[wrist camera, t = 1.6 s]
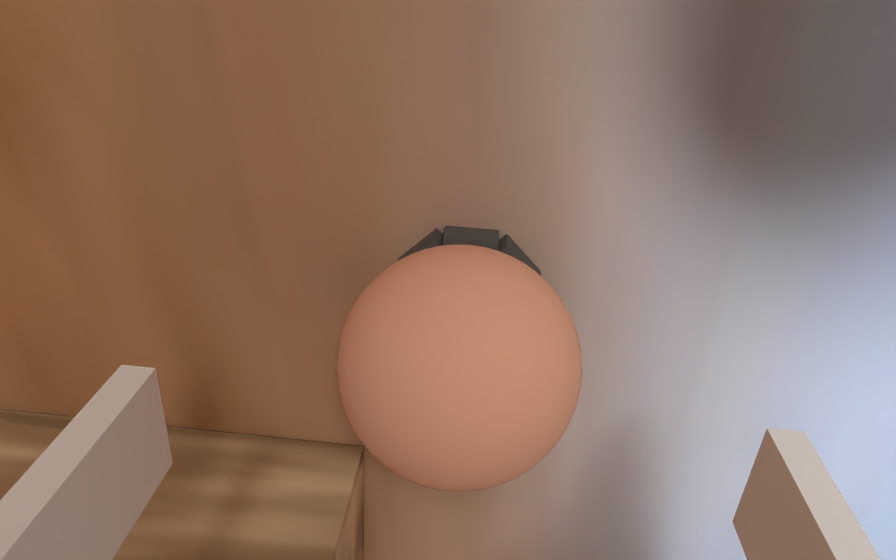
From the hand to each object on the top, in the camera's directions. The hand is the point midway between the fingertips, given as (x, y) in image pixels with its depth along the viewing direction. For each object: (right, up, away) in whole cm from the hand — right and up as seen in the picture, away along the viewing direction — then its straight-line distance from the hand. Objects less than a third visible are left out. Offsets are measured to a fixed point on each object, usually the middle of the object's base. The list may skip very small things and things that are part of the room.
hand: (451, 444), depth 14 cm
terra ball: (0, +1, +2) cm, 2 cm away
